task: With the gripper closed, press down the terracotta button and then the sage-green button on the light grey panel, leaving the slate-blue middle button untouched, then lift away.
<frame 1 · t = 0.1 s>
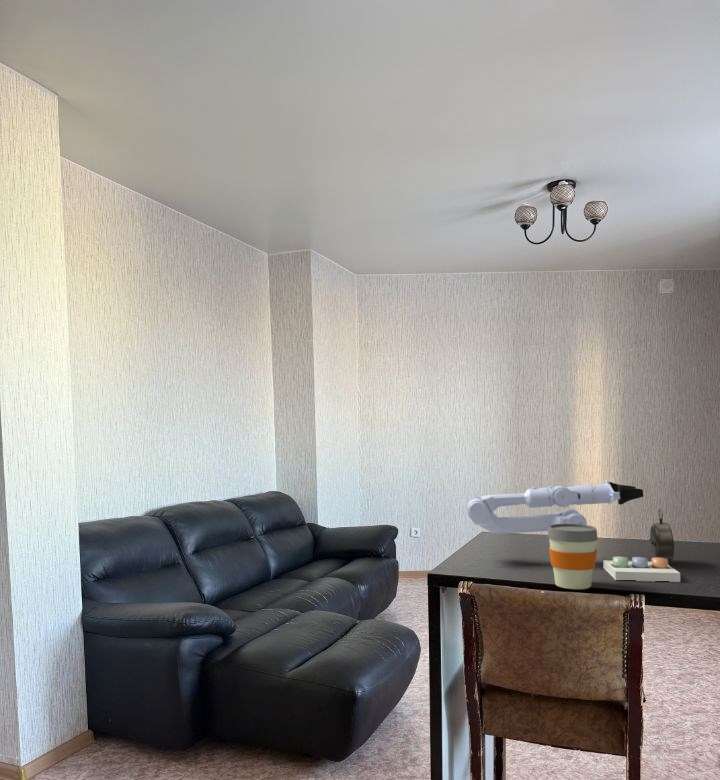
hand: (639, 491, 202), 22 cm above the table, tool horizontal, fingers open, 7 cm apart
slate button: (640, 563, 189), point 3 cm above the table, slide at 0.0 cm
terracotta button: (659, 564, 189), point 3 cm above the table, slide at 0.0 cm
reusable coffee cup: (573, 585, 179), on the table
panel: (640, 575, 189), on the table
sage button: (620, 563, 190), point 3 cm above the table, slide at 0.0 cm
alarm clock: (661, 564, 204), on the table
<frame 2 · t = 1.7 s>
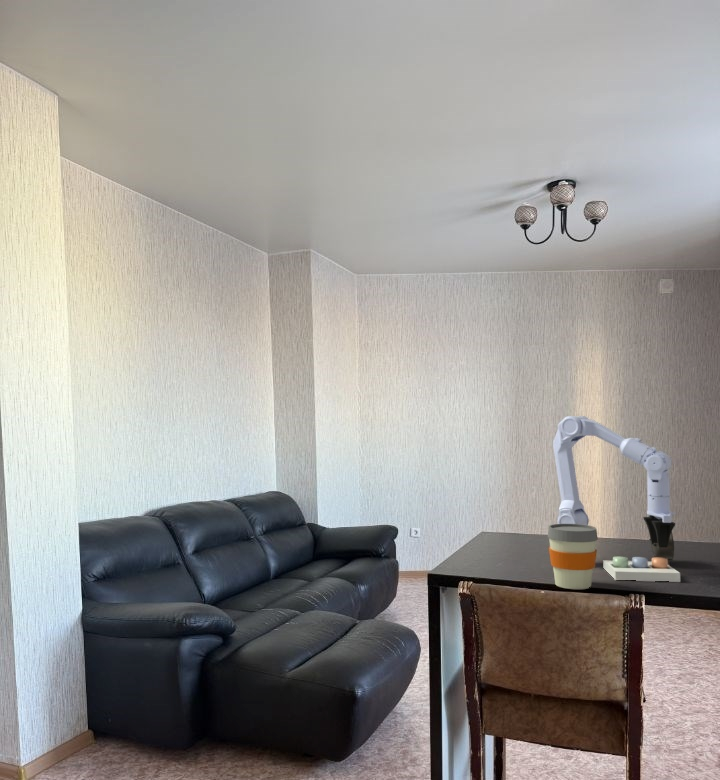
hand: (659, 545, 189), 8 cm above the table, tool pointing down, fingers open, 6 cm apart
nothing on the table moved.
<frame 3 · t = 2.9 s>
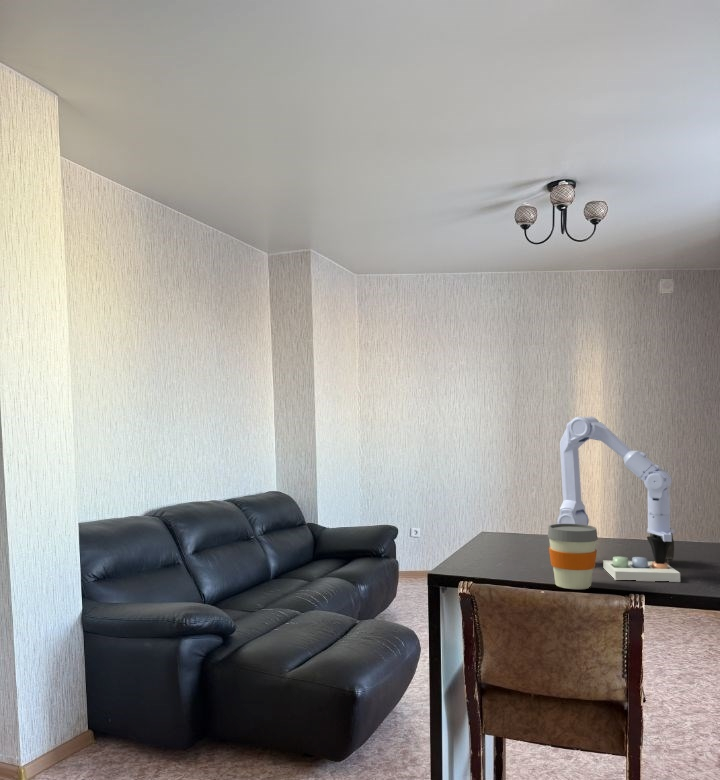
hand: (659, 563, 189), 3 cm above the table, tool pointing down, fingers closed, pressing on terracotta button
terracotta button: (659, 568, 189), point 2 cm above the table, slide at 1.2 cm, touching gripper
everything else where it was.
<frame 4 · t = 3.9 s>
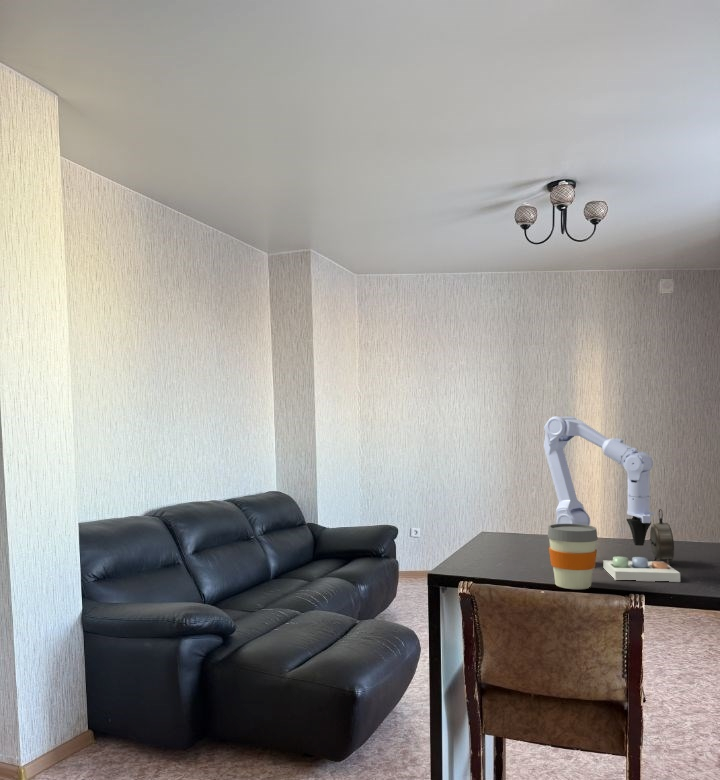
hand: (638, 545, 190), 8 cm above the table, tool pointing down, fingers closed
terracotta button: (659, 568, 189), point 2 cm above the table, slide at 1.2 cm
everything else where it was.
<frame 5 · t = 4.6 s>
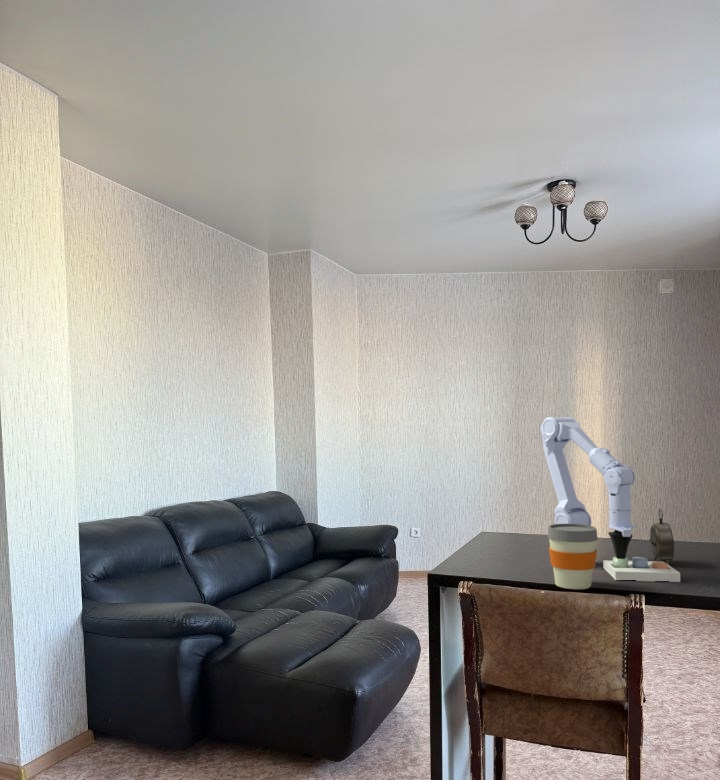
hand: (620, 558, 190), 4 cm above the table, tool pointing down, fingers closed, pressing on sage button
sage button: (620, 563, 190), point 3 cm above the table, slide at 0.1 cm, touching gripper
everything else where it was.
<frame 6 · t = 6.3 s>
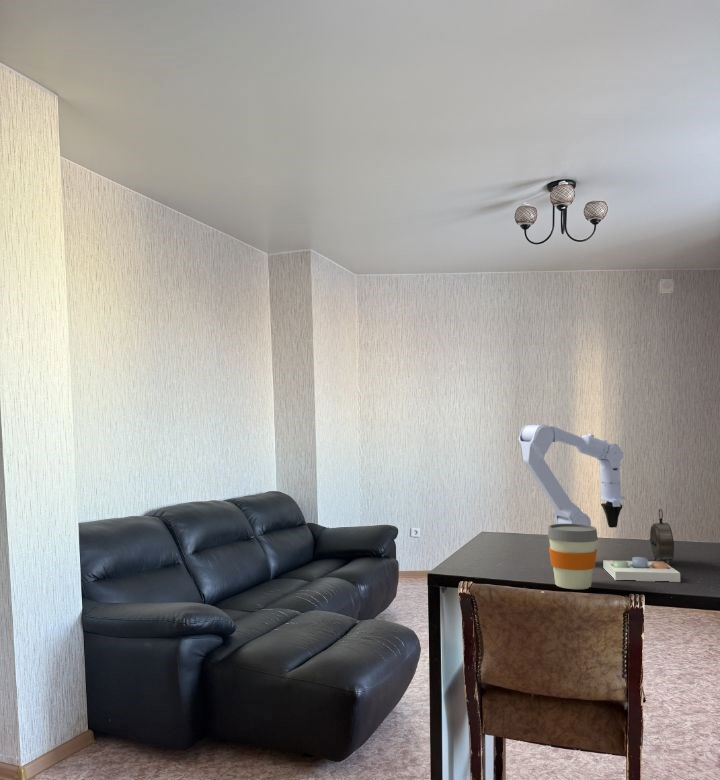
hand: (612, 527, 208), 10 cm above the table, tool pointing down, fingers closed
sage button: (620, 567, 190), point 2 cm above the table, slide at 1.2 cm
everything else where it was.
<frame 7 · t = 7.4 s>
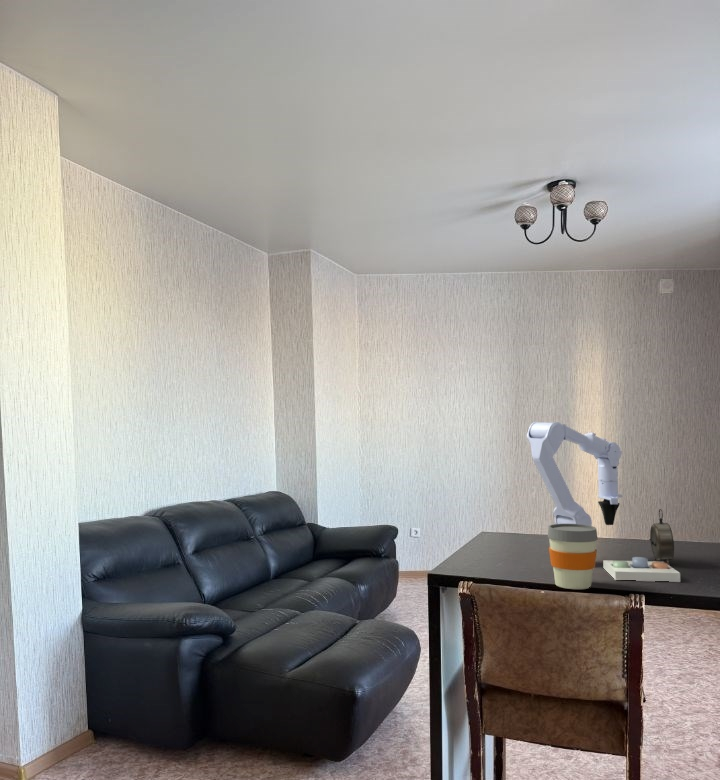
hand: (609, 524, 211), 10 cm above the table, tool pointing down, fingers closed
nothing on the table moved.
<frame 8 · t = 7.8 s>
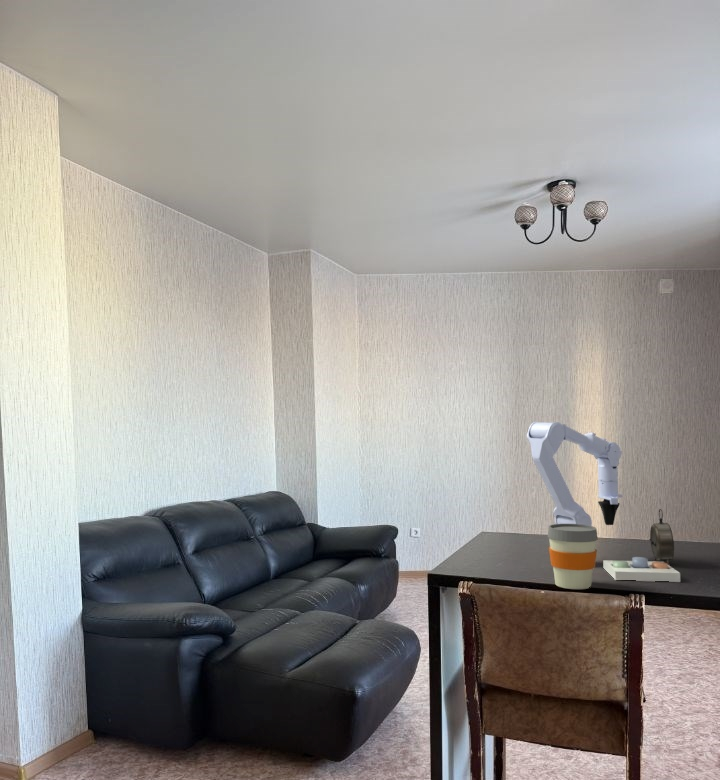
hand: (609, 524, 211), 10 cm above the table, tool pointing down, fingers closed
nothing on the table moved.
at the end: terracotta button slide at 1.2 cm; sage button slide at 1.2 cm; slate button slide at 0.0 cm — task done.
